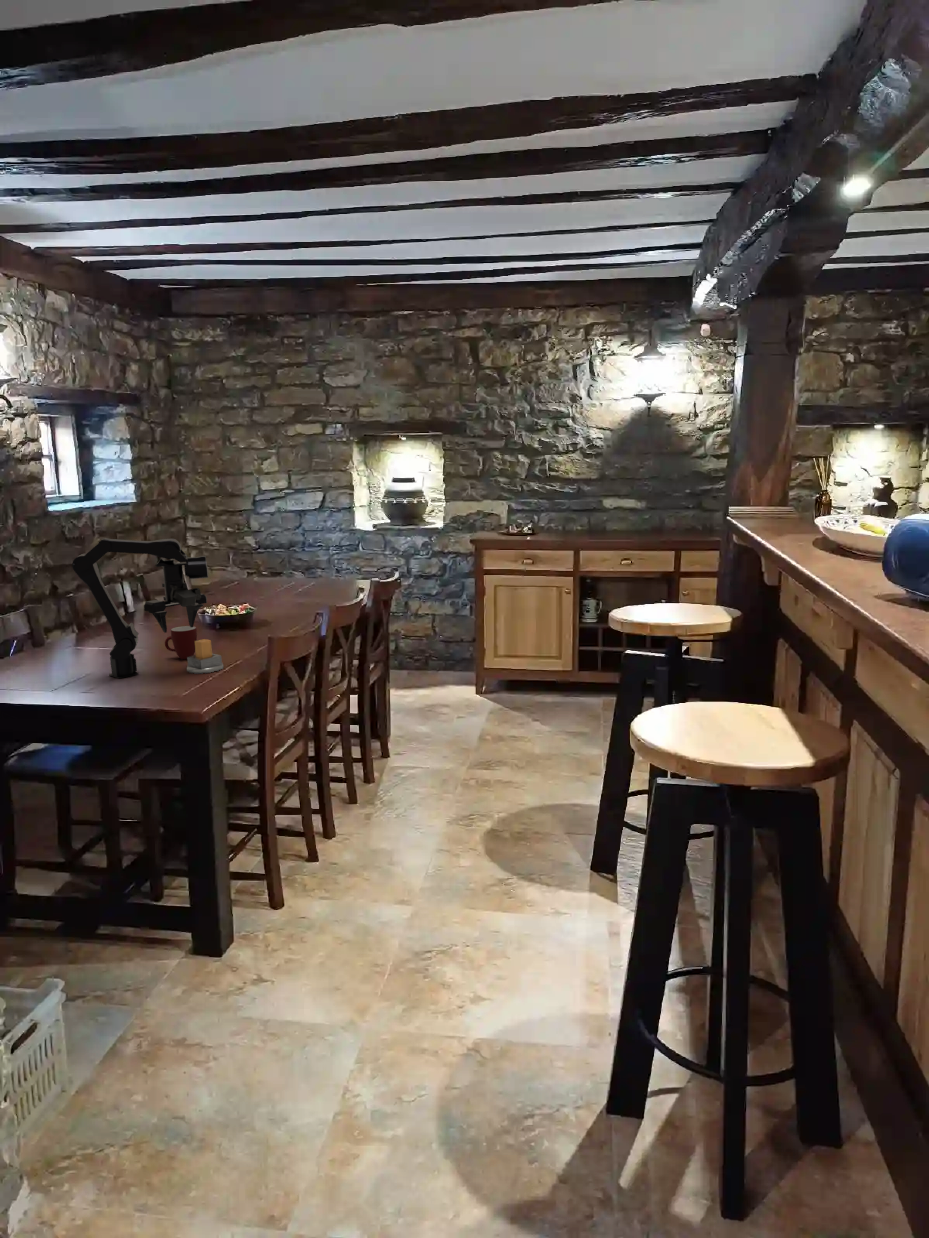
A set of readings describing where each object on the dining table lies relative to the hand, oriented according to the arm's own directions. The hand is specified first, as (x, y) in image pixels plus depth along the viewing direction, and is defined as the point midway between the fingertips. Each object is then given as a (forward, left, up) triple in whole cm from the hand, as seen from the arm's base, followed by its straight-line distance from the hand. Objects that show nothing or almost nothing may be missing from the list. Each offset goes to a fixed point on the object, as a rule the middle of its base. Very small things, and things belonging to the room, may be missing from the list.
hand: (178, 629), depth 275 cm
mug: (+9, +14, -13) cm, 21 cm away
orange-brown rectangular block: (+5, -5, -12) cm, 14 cm away
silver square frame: (+5, -5, -13) cm, 15 cm away
